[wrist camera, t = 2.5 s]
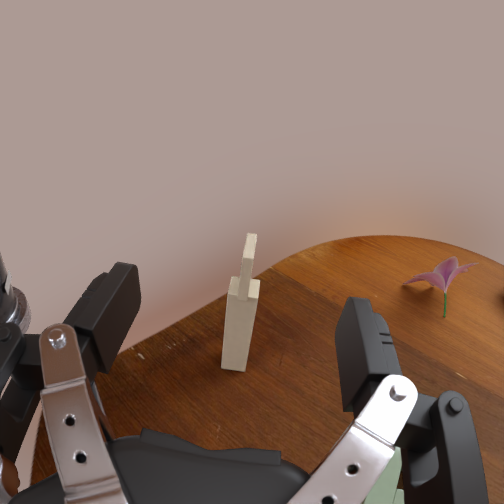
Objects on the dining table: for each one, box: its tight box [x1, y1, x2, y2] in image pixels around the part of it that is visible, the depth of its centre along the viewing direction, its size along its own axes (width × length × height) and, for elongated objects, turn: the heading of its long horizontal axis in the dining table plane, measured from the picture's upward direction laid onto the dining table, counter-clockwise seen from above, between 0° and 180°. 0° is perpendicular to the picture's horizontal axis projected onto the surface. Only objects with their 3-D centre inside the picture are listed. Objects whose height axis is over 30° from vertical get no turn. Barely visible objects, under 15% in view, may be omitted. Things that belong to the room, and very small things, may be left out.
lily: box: [403, 256, 478, 317], centre depth 41 cm, size 12×12×10 cm
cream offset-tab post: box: [221, 233, 260, 372], centre depth 27 cm, size 2×4×14 cm, turn 175°
